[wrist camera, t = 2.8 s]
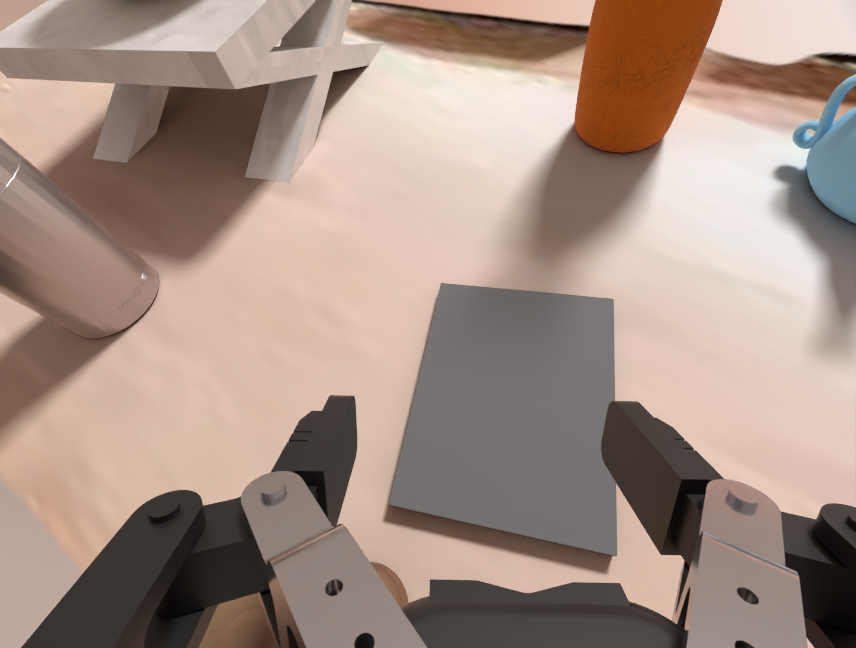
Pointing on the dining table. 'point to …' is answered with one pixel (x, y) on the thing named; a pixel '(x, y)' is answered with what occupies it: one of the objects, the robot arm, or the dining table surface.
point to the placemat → (514, 416)
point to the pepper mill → (246, 623)
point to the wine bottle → (639, 68)
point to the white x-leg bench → (193, 63)
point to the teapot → (833, 155)
